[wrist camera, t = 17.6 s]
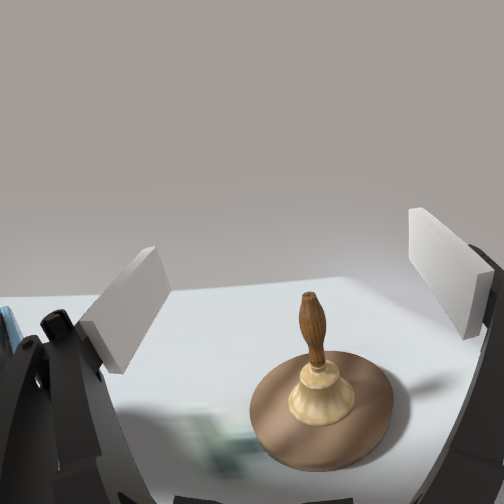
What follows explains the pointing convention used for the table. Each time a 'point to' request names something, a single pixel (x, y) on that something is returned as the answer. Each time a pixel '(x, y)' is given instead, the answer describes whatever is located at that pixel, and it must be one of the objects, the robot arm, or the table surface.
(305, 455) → the walnut stand
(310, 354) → the hand bell
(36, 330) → the table surface
